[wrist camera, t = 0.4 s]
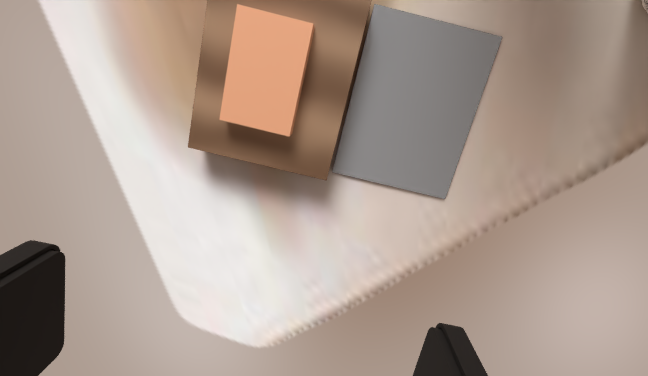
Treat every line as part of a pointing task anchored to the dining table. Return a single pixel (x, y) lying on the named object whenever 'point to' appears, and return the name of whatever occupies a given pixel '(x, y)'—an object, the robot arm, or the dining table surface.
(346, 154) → the mat
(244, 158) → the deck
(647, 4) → the supplement can
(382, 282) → the dining table surface
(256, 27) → the peach rectangular tile
